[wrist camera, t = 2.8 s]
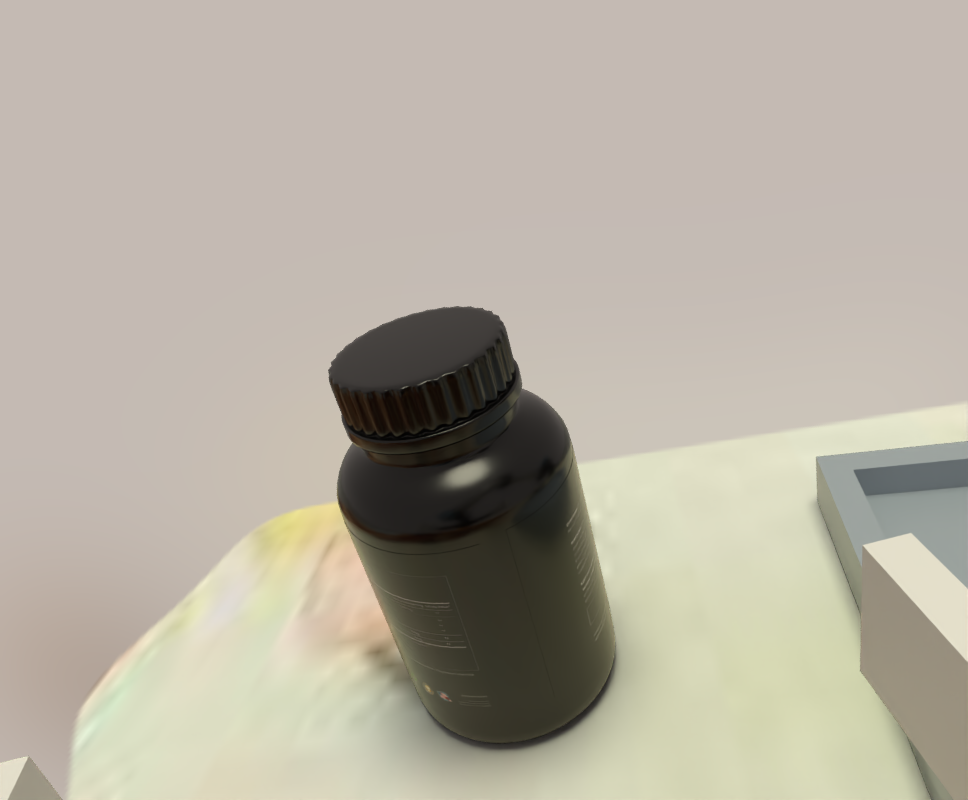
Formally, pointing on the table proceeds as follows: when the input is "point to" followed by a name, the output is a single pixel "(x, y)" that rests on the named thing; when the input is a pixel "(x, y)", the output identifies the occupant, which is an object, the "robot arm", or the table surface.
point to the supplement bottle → (472, 525)
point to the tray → (898, 515)
